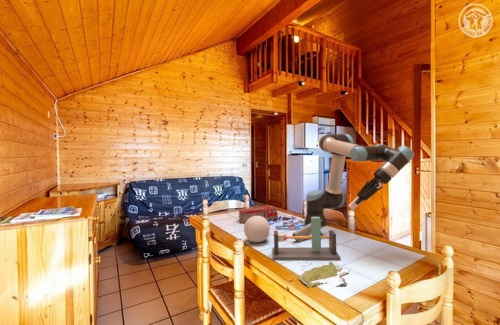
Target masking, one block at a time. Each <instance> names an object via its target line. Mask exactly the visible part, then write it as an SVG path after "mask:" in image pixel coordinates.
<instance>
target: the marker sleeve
mask: <svg viewBox="0 0 500 325" xmlns="http://www.w3.org/2000/svg"><path fill="white" fill-rule="evenodd" d="M321 230H322V229H321V222H320V217H311V233H312V234H311V236H312V239H311V247H312V249H313V250H321V247H322V239H321V236H322V235H321V232H322V231H321Z"/></svg>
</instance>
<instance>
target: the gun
mask: <svg viewBox="0 0 500 325" xmlns="http://www.w3.org/2000/svg"><path fill="white" fill-rule="evenodd" d="M320 222H321V230H322V229H323V228H324V227H325V226H324V225H325V223H324V220H323V219H320ZM292 236H312V233H311V223H310V224H308V225H305V226H303V227H301V228H299V229H297V230H296V231H294V232H292ZM321 236H324V233H323V232H322V231H321ZM294 240H295V242H296V243H300V242H302V241H303V240H304V239H294Z"/></svg>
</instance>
